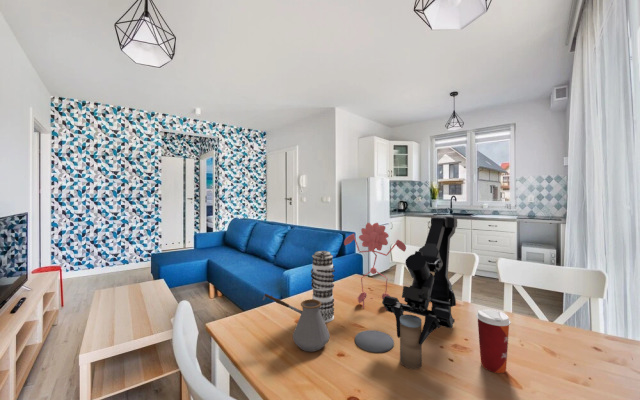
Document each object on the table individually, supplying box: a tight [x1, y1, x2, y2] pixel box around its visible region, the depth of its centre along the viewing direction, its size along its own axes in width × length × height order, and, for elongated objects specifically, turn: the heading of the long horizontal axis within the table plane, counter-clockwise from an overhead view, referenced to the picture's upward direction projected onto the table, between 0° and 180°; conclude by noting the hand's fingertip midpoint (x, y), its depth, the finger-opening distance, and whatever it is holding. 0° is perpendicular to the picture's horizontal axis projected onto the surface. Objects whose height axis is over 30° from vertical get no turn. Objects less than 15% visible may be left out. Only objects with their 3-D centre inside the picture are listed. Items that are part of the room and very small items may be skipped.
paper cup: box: [475, 308, 511, 374], centre depth 70 cm, size 8×8×14 cm
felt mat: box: [354, 329, 395, 354], centre depth 83 cm, size 12×12×1 cm
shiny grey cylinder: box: [399, 314, 423, 370], centre depth 72 cm, size 6×6×12 cm
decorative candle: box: [310, 250, 336, 324], centre depth 100 cm, size 9×9×25 cm
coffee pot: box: [262, 293, 330, 353], centre depth 82 cm, size 21×12×15 cm, turn 81°
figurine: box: [343, 222, 407, 311], centre depth 114 cm, size 15×26×35 cm, turn 80°
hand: (408, 340), depth 71 cm, fingers closed on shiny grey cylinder, 6 cm apart
